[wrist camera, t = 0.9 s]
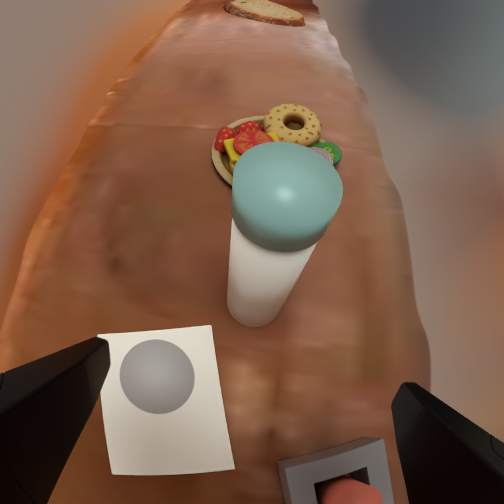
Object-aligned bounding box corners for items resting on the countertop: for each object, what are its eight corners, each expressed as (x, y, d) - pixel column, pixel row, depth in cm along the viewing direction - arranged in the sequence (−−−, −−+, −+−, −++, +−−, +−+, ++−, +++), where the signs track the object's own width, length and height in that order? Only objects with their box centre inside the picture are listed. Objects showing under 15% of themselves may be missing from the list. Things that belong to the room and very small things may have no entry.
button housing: (377, 509, 16) (395, 518, 14) (292, 537, 15) (301, 551, 12) (365, 436, 19) (383, 438, 17) (276, 461, 18) (284, 468, 16)
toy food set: (303, 118, 37) (308, 98, 34) (357, 196, 31) (368, 176, 28) (198, 133, 33) (198, 111, 31) (235, 225, 28) (237, 203, 25)
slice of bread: (308, 29, 55) (311, 15, 52) (228, 24, 53) (229, 10, 49) (289, 8, 64) (291, -3, 60) (222, 5, 61) (222, -7, 58)
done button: (359, 503, 16) (384, 516, 12) (320, 516, 15) (339, 533, 12) (353, 470, 17) (379, 478, 13) (313, 482, 16) (333, 495, 13)
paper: (234, 468, 18) (235, 469, 18) (113, 473, 16) (111, 474, 16) (211, 325, 23) (211, 324, 23) (98, 335, 21) (97, 334, 21)
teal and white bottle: (286, 324, 24) (357, 220, 11) (229, 332, 23) (242, 230, 11) (275, 272, 26) (323, 141, 13) (221, 279, 25) (226, 143, 13)
